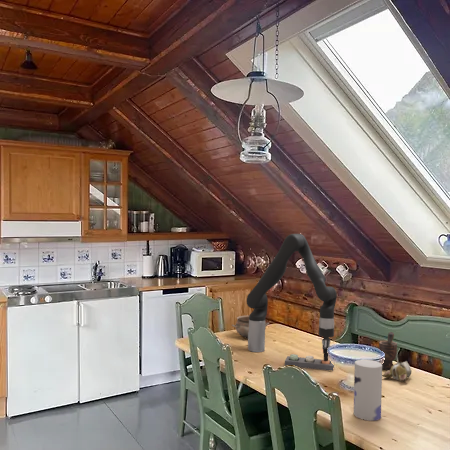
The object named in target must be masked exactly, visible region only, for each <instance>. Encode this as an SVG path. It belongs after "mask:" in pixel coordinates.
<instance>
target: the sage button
mask: <svg viewBox="0 0 450 450" xmlns="http://www.w3.org/2000/svg"><path fill="white" fill-rule="evenodd" d="M289 356H290V360H293V361H298V357H299V355H298V354H294V353H292V354H290V355H289Z"/></svg>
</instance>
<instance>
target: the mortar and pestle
mask: <svg viewBox="0 0 450 450" xmlns="http://www.w3.org/2000/svg"><path fill="white" fill-rule="evenodd" d="M394 336H395V333H394V332H392V331H390V332H388V334H387V340H380V341H379V342H378V345H379V347H378V348H379V349H380V350H381V351H383V352H384V353H385V360H384V363H383V362H382V363H383V364H382V363H381V364H382V370H386V371H387V370H390V369H391V367H392V366H393V365H394V363H393V362H394V361H395V359H396V357H397V353H398V342H395V341H393V340H394V338H395V337H394ZM379 349H378V350H379Z"/></svg>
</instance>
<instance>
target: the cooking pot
mask: <svg viewBox="0 0 450 450" xmlns="http://www.w3.org/2000/svg"><path fill="white" fill-rule="evenodd" d="M236 319H237V320H236V323H235V324H231V326H232V327H233V328H235V330H236V331H235V332H237V333H238V335H240V336H242V337H243V338H245V339H247V340H248V332H249V315H240V316H237V317H236ZM269 325H270V322H265V329H266V327H267V326H269Z"/></svg>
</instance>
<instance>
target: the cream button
mask: <svg viewBox="0 0 450 450" xmlns="http://www.w3.org/2000/svg"><path fill="white" fill-rule="evenodd" d="M305 358H306V362H312V363H314V359H315V358H314V356H313V355H306V356H305Z"/></svg>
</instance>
